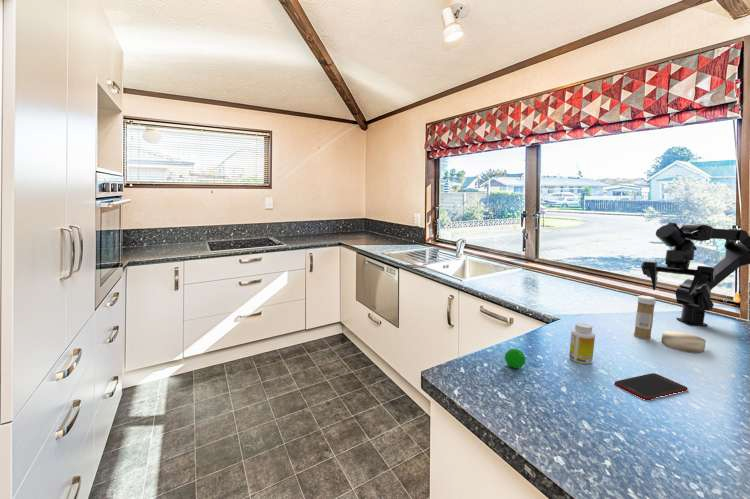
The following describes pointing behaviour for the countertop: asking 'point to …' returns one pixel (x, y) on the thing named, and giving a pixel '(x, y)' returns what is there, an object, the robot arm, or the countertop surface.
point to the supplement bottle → (582, 343)
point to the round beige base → (683, 341)
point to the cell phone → (650, 386)
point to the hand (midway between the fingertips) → (671, 292)
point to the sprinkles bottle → (644, 317)
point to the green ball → (515, 358)
